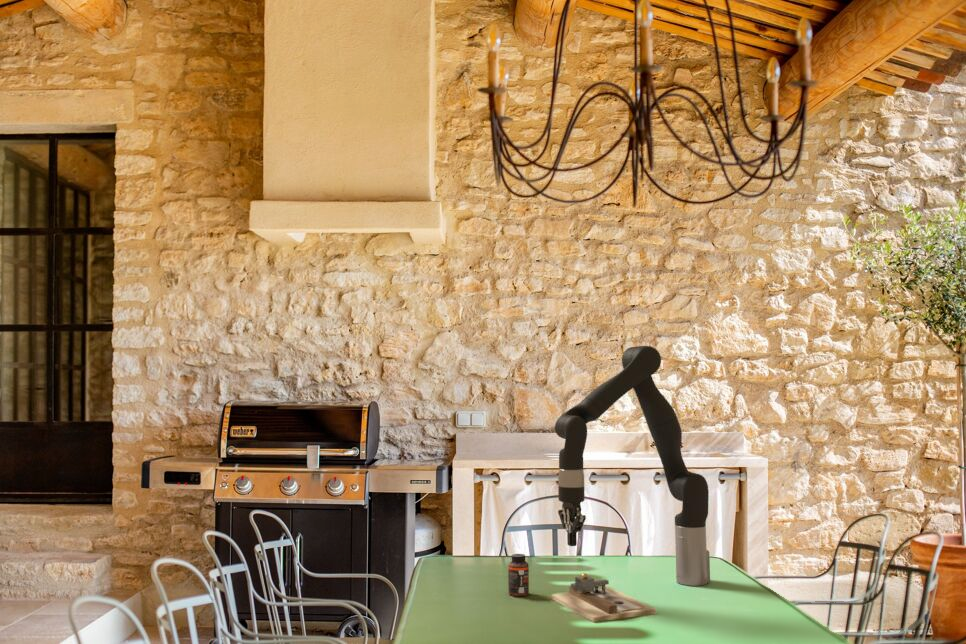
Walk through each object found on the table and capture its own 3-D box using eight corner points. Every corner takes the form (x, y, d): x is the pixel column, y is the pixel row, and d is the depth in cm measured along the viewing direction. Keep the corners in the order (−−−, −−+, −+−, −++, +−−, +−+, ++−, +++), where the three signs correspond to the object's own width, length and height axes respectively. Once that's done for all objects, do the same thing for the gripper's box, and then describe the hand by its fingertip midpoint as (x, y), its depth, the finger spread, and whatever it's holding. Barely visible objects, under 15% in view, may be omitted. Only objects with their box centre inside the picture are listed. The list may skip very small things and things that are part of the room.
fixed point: (598, 590, 229) (598, 580, 229) (602, 592, 227) (602, 582, 227) (571, 593, 226) (570, 583, 226) (575, 595, 224) (574, 585, 224)
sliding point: (604, 592, 226) (603, 570, 226) (610, 595, 223) (610, 573, 223) (575, 595, 223) (575, 573, 223) (581, 598, 219) (581, 576, 220)
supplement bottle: (527, 597, 228) (526, 557, 229) (506, 596, 229) (506, 556, 230) (530, 592, 234) (529, 553, 235) (510, 591, 235) (509, 552, 236)
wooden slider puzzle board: (609, 591, 234) (608, 580, 234) (656, 613, 211) (655, 601, 212) (551, 598, 227) (551, 587, 227) (593, 622, 204) (593, 609, 205)
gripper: (594, 486, 226) (594, 549, 224) (572, 481, 238) (572, 540, 237) (570, 488, 223) (571, 551, 222) (549, 482, 235) (549, 542, 234)
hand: (571, 545), depth 229 cm, fingers closed
